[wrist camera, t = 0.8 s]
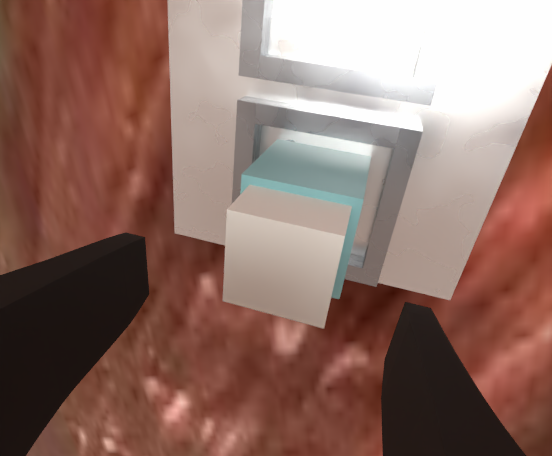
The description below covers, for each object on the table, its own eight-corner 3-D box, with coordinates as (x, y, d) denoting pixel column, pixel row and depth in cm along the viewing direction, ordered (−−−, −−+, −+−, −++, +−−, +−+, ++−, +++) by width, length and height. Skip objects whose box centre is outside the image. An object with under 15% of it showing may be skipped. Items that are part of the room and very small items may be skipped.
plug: (371, 156, 16) (358, 229, 10) (351, 239, 18) (331, 338, 12) (277, 138, 16) (217, 197, 11) (268, 220, 18) (213, 305, 13)
